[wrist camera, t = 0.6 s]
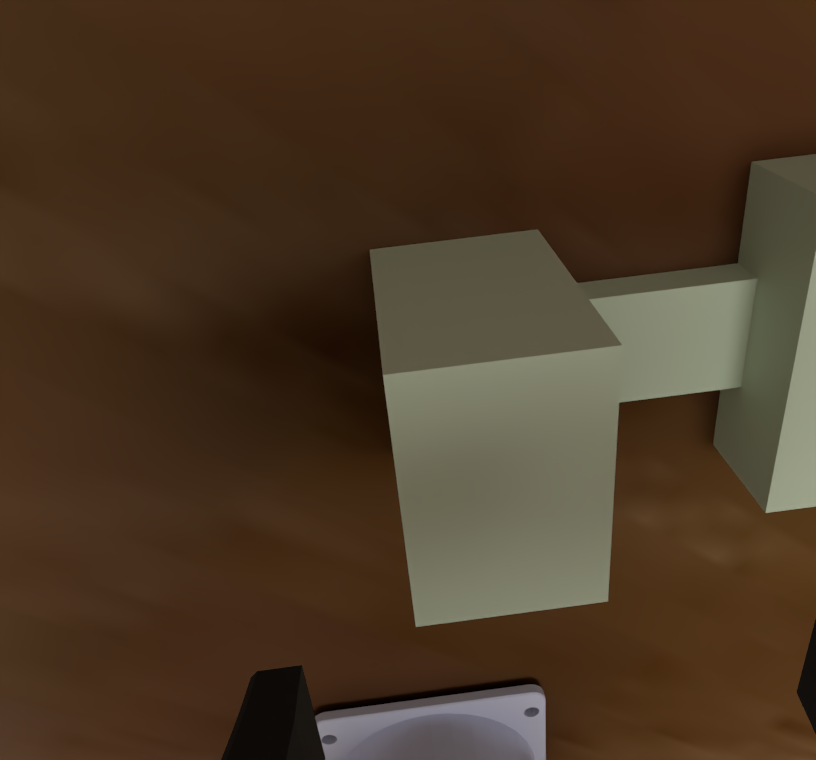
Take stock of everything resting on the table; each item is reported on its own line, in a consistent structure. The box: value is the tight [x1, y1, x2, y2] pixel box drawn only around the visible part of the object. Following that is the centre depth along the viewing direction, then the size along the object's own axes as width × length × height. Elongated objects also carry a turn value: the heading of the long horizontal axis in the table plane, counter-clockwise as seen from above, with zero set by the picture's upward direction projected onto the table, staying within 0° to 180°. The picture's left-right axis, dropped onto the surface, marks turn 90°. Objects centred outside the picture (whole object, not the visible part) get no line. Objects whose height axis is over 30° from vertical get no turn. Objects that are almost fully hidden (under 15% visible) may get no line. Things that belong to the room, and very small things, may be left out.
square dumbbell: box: [370, 154, 816, 627], centre depth 16 cm, size 8×13×6 cm, turn 96°
